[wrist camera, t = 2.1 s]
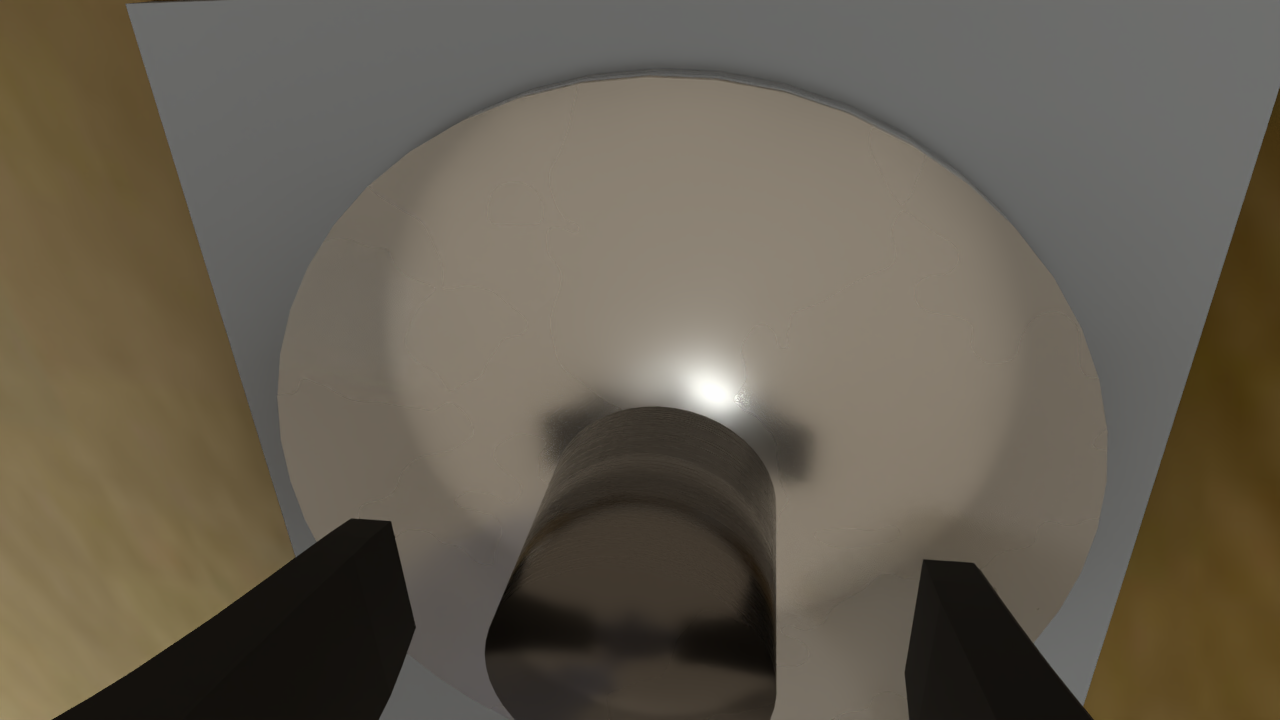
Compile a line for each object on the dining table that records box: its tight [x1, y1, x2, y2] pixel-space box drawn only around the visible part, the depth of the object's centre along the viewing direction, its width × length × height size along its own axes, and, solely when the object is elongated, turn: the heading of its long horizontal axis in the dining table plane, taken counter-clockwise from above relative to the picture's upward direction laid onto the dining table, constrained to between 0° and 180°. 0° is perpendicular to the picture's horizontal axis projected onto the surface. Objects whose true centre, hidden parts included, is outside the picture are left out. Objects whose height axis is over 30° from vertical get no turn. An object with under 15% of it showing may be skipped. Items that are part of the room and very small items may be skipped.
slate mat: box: [126, 0, 1280, 720], centre depth 14 cm, size 15×15×1 cm
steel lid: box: [277, 69, 1108, 720], centre depth 12 cm, size 13×13×4 cm
